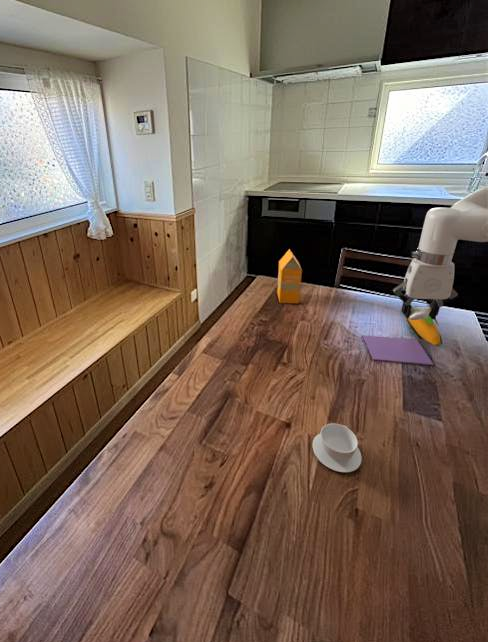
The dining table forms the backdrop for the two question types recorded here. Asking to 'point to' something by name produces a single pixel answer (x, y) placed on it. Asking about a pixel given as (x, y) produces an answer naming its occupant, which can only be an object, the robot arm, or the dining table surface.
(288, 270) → the orange juice
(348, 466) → the teacup
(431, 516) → the dining table surface
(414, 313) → the dumpling
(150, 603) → the dining table surface
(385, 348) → the cloth
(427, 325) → the corn
